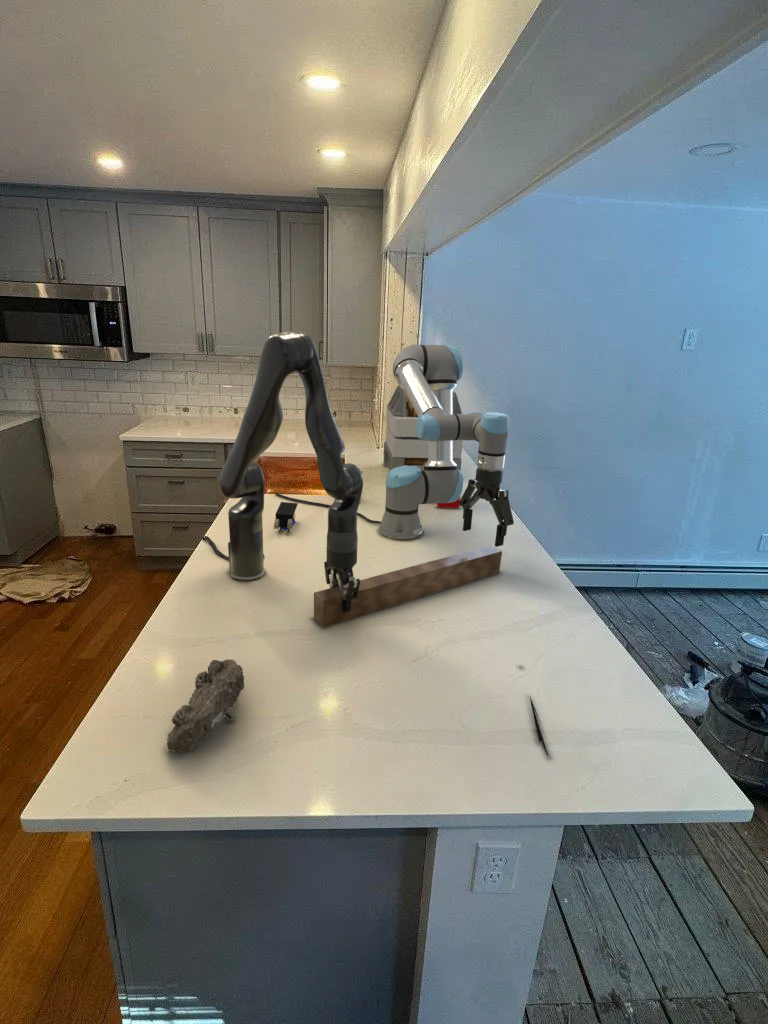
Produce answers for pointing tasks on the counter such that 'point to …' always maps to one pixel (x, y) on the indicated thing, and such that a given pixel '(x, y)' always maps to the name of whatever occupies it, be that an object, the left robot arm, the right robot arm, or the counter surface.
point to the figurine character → (285, 516)
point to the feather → (538, 726)
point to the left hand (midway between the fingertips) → (340, 606)
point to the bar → (407, 584)
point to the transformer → (410, 434)
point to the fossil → (206, 705)
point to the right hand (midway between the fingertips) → (482, 537)
